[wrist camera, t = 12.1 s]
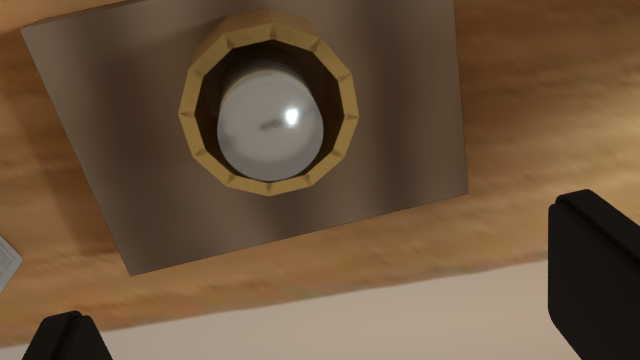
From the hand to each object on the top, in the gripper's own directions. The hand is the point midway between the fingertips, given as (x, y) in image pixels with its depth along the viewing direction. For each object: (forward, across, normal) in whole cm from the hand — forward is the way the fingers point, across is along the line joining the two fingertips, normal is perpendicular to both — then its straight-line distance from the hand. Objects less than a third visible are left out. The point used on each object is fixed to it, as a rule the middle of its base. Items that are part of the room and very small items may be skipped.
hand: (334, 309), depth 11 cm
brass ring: (+17, +1, 0) cm, 17 cm away
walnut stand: (+20, +1, +2) cm, 20 cm away
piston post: (+17, +1, 0) cm, 17 cm away
